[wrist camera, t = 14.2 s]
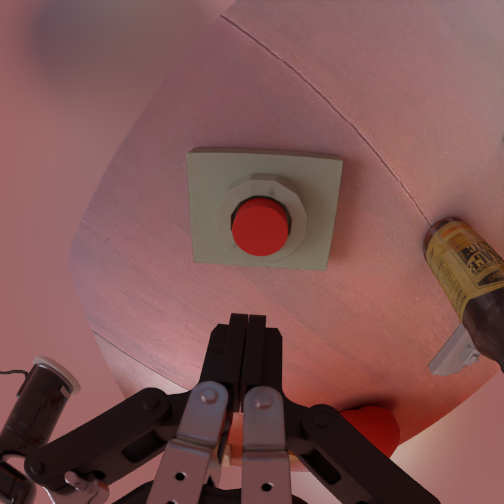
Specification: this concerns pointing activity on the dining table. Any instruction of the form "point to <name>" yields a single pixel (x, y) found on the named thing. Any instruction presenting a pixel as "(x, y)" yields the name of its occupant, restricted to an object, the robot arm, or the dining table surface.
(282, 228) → the button
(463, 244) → the sauce bottle
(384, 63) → the dining table surface
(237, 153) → the switch block
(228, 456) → the dimmer panel
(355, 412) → the tomato
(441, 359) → the grey terrain tile
